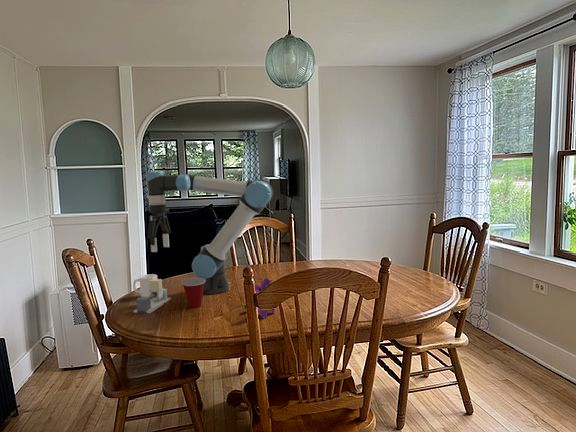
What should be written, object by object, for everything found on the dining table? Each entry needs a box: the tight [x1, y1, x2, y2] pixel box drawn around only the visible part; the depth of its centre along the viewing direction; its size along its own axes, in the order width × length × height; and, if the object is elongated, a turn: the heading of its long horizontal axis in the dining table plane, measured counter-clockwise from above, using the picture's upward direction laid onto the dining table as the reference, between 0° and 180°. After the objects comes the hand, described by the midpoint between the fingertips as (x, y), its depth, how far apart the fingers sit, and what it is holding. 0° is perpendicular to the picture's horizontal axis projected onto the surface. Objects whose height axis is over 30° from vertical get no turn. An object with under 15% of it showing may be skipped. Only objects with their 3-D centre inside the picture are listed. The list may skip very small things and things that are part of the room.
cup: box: [132, 273, 158, 297], centre depth 215 cm, size 8×12×10 cm
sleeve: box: [149, 278, 164, 300], centre depth 203 cm, size 4×5×9 cm
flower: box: [243, 277, 276, 319], centre depth 184 cm, size 15×15×14 cm
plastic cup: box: [180, 276, 206, 309], centre depth 196 cm, size 11×11×12 cm
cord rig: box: [133, 288, 172, 314], centre depth 199 cm, size 20×8×6 cm, turn 170°
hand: (160, 249), depth 208 cm, fingers open, 12 cm apart
